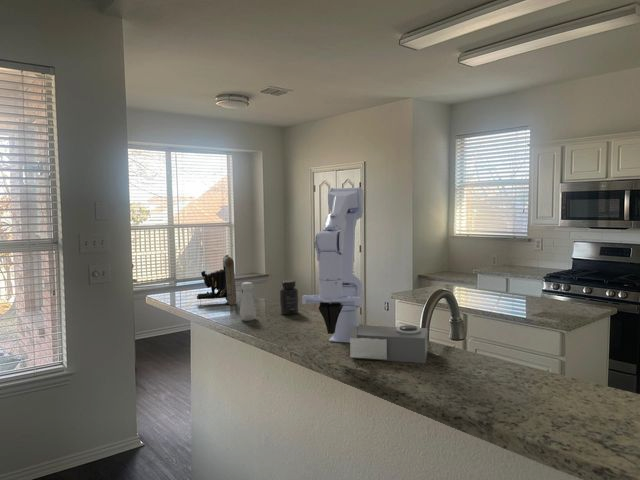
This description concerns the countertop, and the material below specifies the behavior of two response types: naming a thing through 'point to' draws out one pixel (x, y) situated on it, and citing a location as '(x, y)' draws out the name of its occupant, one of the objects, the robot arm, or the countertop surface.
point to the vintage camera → (221, 282)
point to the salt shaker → (247, 302)
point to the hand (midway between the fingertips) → (331, 332)
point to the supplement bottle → (289, 298)
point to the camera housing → (399, 342)
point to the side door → (367, 346)
